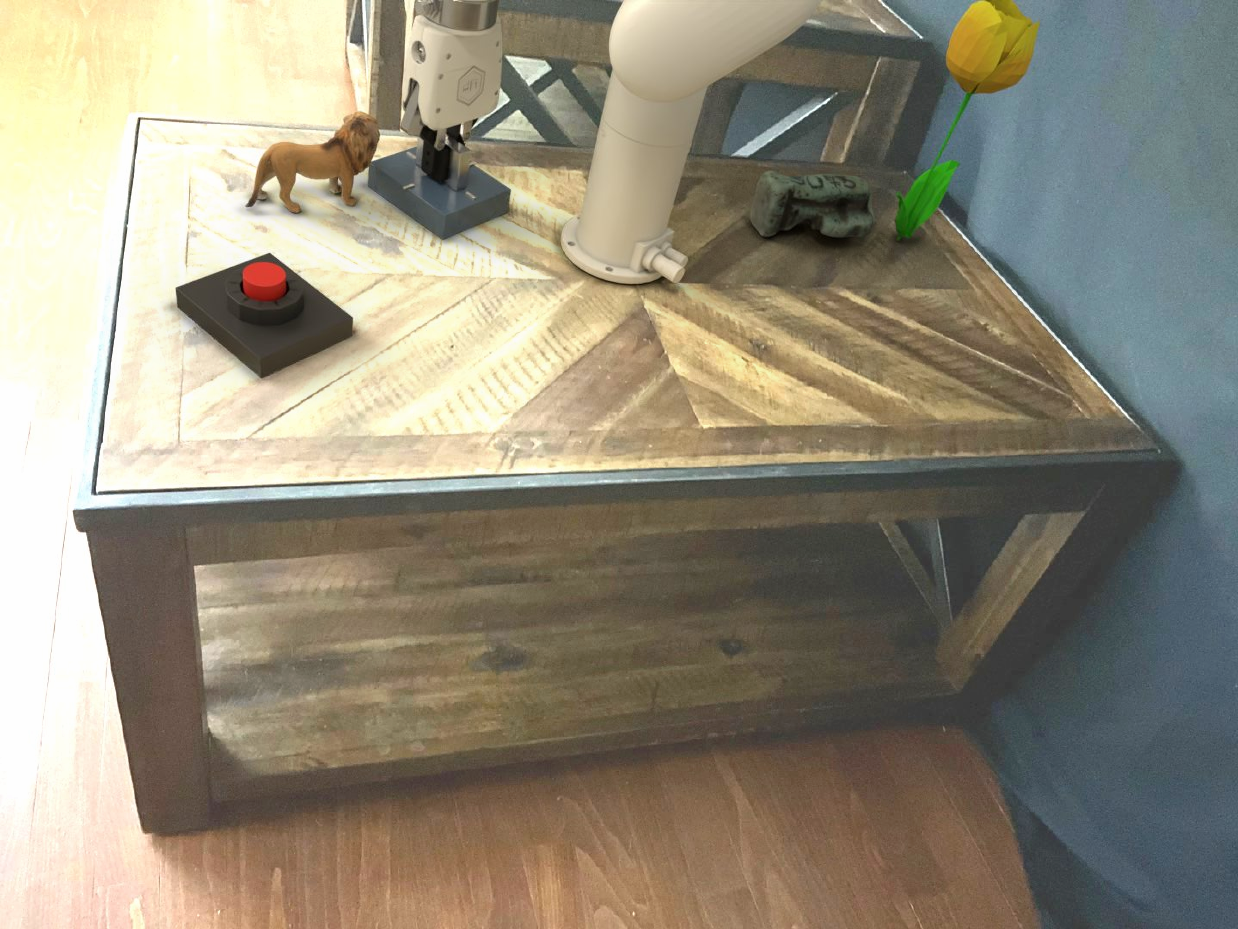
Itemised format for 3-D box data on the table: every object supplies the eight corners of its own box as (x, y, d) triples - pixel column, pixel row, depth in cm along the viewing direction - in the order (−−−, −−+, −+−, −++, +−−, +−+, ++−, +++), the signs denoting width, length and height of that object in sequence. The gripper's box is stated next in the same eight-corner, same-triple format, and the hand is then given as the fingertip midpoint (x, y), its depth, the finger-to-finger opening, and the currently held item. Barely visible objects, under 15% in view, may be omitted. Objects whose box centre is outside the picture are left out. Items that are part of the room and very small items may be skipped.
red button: (294, 293, 92) (294, 277, 90) (260, 307, 89) (260, 291, 88) (269, 273, 93) (268, 257, 92) (234, 286, 90) (233, 270, 89)
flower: (884, 258, 126) (999, 17, 105) (856, 221, 131) (960, -16, 111) (941, 258, 129) (1064, 24, 108) (912, 222, 134) (1023, -8, 114)
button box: (352, 336, 95) (354, 301, 92) (261, 378, 88) (259, 342, 85) (270, 271, 99) (269, 236, 96) (177, 307, 92) (173, 270, 90)
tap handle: (466, 187, 111) (471, 147, 108) (456, 191, 110) (461, 151, 107) (425, 159, 113) (429, 120, 110) (415, 163, 112) (418, 123, 109)
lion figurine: (362, 174, 114) (365, 99, 108) (387, 199, 112) (392, 124, 105) (235, 198, 106) (230, 118, 99) (258, 226, 103) (255, 145, 97)
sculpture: (817, 162, 131) (730, 197, 125) (850, 131, 125) (759, 166, 118) (863, 244, 131) (778, 283, 124) (899, 217, 124) (810, 257, 118)
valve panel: (510, 211, 115) (513, 187, 113) (440, 240, 108) (443, 215, 106) (436, 162, 119) (439, 137, 117) (364, 187, 112) (366, 161, 110)
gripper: (424, 35, 92) (410, 210, 105) (541, 7, 103) (515, 170, 115) (369, 0, 95) (361, 176, 108) (488, -23, 105) (468, 140, 118)
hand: (441, 172), depth 111 cm, fingers closed on tap handle
